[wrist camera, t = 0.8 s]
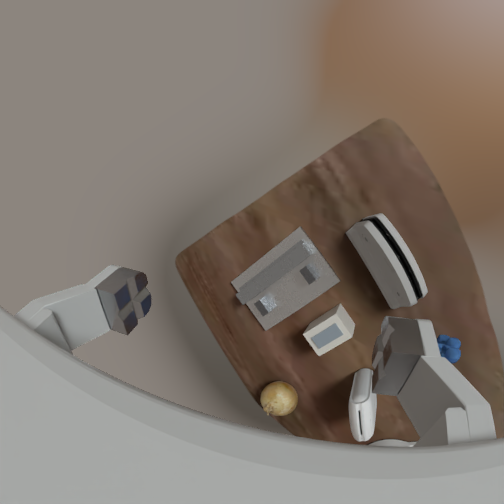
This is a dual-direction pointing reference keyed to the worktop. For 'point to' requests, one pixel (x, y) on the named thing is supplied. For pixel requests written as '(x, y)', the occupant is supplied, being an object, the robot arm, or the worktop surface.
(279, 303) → the rail base
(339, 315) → the block
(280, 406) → the onion
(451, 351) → the grapes
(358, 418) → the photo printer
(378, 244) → the white toaster
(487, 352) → the worktop surface
